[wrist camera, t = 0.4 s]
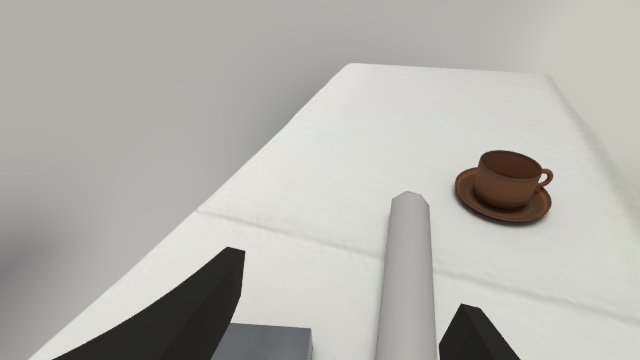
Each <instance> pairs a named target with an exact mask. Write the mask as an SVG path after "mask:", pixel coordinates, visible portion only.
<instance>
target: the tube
mask: <svg viewBox="0 0 640 360" xmlns="http://www.w3.org/2000/svg"><path fill="white" fill-rule="evenodd" d="M375 360H437V350H436V330H435V310H434V291H433V271H432V251H431V232H430V212H429V205H428V204H427V202H426V201H425V199H424V198H423V196H422V195H420V194H416V193H413V192H409V191H406V192H404V193H402V194H400V195H398V196H397V197H395V198H393V199H392V203H391V212H390V221H389V231H388V241H387V251H386V261H385V270H384V280H383V290H382V300H381V310H380V320H379V329H378V339H377V349H376V359H375Z"/></svg>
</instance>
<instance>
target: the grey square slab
mask: <svg viewBox="0 0 640 360" xmlns="http://www.w3.org/2000/svg"><path fill="white" fill-rule="evenodd" d="M312 348H313V346H312V334H311V328H297V327H282V326H267V325H252V324H238V323H230V324H229V326H228V328H227V330H226V332H225V334H224V335H223V337H222V339H221V341H220V343H219V345H218V347H217V349H216V351H215V352H214V354H213V356H212V358H211V360H311V357H312Z"/></svg>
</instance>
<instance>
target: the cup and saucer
mask: <svg viewBox="0 0 640 360" xmlns="http://www.w3.org/2000/svg"><path fill="white" fill-rule="evenodd" d="M542 173H545V174H547V176H548V177H547V179H546V180H545V181H544V182H542V183H538V181H539V179H540V177H541V175H542ZM552 179H553V173H552V171H551V170H549V169H542V167H541V166H540V165H539V164H538V163H537V162H536V161H535V160H533V159H532V158H530V157H528V156H525V155H523V154H519V153H516V152H511V151H503V150H496V151H490V152H486V153H484V154H483V155H482V156H481V158H480V161H479V165H478V167H476V168H471V169H468V170H465V171H463V172H462V173H460V174H459V175H458V176H457V178H456V181H455V187H456V191H457V193H458V195H459V196H460V198H461V199H462V200H463V201H464V202H465V203H466V204H467V205H469V206H470V207H471V208H473V209H474V210H476V211H478V212H480V213H482V214H484V215H487V216H489V217H492V218H496V219H500V220H505V221H529V220H534V219H537V218H540V217H542V216H543V215H545V214H546V213H547V212H548V211H549V209H550V207H551V204H552V203H551V198H550V195H549V194H548V192H547V191H546V190H545V189H544V188H543V187H544V186H546V185H547V184H549V183H550V182H551V181H552Z"/></svg>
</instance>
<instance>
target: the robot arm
mask: <svg viewBox="0 0 640 360" xmlns="http://www.w3.org/2000/svg"><path fill="white" fill-rule="evenodd" d="M244 260H245V251H243V250H239V249H235V248H231V247H226V248H225V249H223V250H222V251H221V252H220V253H219V254H217V255H216V256H215V257H214V258H213V259H211V260H210V261H209V262H208V263H207V264H205V265H204V266H203V267H202V268H200V269H199V270H198V271H197V272H195V273H194V274H193V275H191V276H190V277H189V278H188V279H186V280H185V281H184V282H182V283H181V284H180V285H178V286H177V287H176V288H174V289H173V290H171V291H170V292H169V293H167V294H166V295H164V296H163V297H161V298H160V299H158V300H157V301H155V302H154V303H153V304H151V305H150V306H148V307H147V308H145V309H143V310H142V311H140V312H139V313H137V314H136V315H134V316H132V317H131V318H129V319H127V320H126V321H124V322H122V323H121V324H119V325H117V326H116V327H114V328H112V329H110V330H109V331H107V332H105V333H103V334H101V335H99V336H98V337H96V338H94V339H92V340H90V341H88V342H87V343H85V344H83V345H81V346H79V347H77V348H75V349H73V350H71V351H69V352H67V353H65V354H63V355H61V356H59V357H57V358H55V359H52V360H211V358H212V356H213V354H214V352H215V351H216V349H217V347H218V345H219V343H220V341H221V339H222V337H223V335H224V334H225V332H226V330H227V328H228V326H229V324H230V321H231V319H232V316H233V314H234V312H235V309H236V306H237V304H238V301H239V299H240V296H241V288H242V279H243V269H244ZM439 354H440V360H520V359H519V357H518V356H517V355H516V353H515V352H514V351H513V350H512V348H511V347H510V346H509V344H508V343H507V342H506V341H505V339H504V338H503V337H502V335H501V334H500V333H499V331H498V330H497V329H496V328H495V326H494V325H493V324H492V322H491V321H490V320H489V319H488V317H487V316H486V315H485V314H484V312H483V311H482V310H481V309H480V308H477V307H473V306H469V305H465V304H461V305H460V306H459V308H458V310H457V312H456V314H455V316H454V318H453V319H452V321H451V323H450V325H449V327H448V329H447V331H446V332H445V334H444V336H443V338H442V340H441V342H440V344H439Z"/></svg>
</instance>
